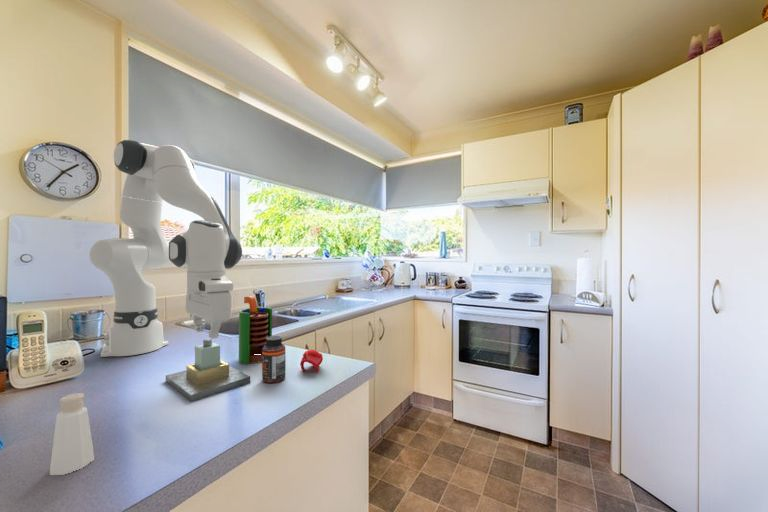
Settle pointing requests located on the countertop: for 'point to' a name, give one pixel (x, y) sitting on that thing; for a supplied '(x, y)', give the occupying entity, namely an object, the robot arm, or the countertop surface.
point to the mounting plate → (206, 380)
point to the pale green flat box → (207, 355)
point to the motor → (253, 331)
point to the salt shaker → (71, 437)
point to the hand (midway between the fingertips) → (206, 334)
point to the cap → (311, 359)
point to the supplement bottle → (273, 360)
